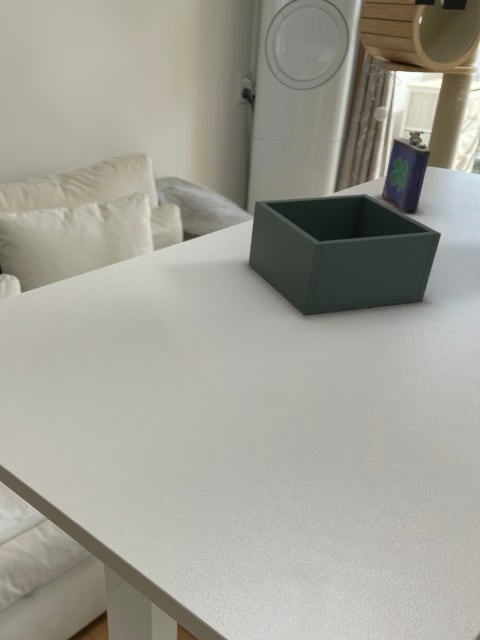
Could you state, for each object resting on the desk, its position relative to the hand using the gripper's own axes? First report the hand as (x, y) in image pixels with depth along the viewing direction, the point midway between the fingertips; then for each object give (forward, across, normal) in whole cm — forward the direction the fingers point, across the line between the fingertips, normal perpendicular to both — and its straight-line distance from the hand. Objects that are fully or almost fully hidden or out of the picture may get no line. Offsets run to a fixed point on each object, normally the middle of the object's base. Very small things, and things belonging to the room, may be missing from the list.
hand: (437, 7), depth 89 cm
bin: (+26, +36, -16) cm, 47 cm away
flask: (+26, +4, 0) cm, 26 cm away
